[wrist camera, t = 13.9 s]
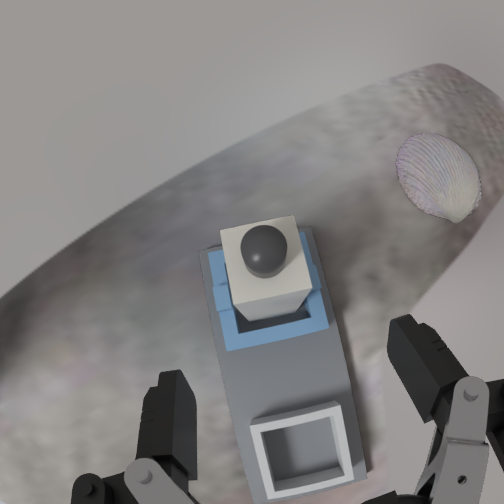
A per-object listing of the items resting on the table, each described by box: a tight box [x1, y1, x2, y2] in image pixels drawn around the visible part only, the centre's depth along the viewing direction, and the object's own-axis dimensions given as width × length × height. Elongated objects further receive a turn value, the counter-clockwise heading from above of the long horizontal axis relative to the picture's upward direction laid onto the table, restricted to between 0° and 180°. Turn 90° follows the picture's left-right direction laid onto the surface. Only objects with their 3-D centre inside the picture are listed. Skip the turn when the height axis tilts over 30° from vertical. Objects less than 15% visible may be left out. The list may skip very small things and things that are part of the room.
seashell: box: [396, 133, 482, 223], centre depth 25 cm, size 10×6×10 cm
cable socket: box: [198, 226, 367, 504], centre depth 21 cm, size 21×9×4 cm, turn 12°
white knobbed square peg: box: [220, 215, 312, 322], centre depth 18 cm, size 3×3×12 cm
